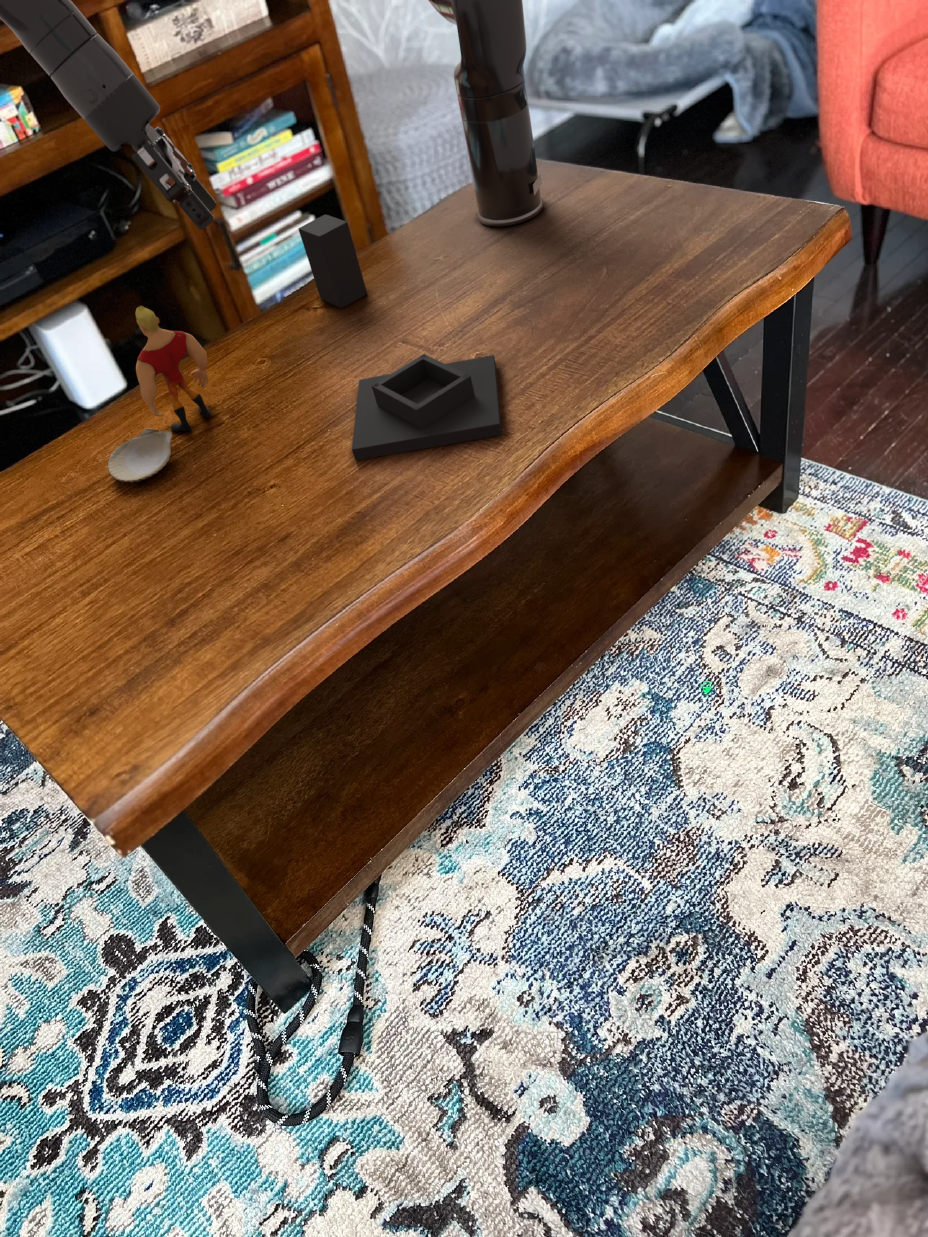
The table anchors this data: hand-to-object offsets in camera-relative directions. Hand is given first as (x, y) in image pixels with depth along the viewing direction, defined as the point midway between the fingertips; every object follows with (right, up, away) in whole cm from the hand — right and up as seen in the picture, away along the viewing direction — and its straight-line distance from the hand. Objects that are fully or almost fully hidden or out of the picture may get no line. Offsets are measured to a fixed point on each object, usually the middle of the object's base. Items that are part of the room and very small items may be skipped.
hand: (209, 217), depth 115 cm
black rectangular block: (+14, -4, +16) cm, 22 cm away
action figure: (-2, -25, 0) cm, 25 cm away
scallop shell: (-6, -31, -5) cm, 32 cm away
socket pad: (+27, -25, -8) cm, 37 cm away
